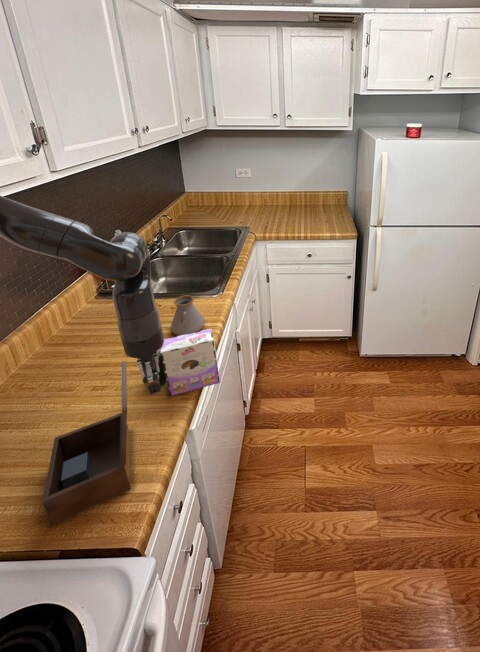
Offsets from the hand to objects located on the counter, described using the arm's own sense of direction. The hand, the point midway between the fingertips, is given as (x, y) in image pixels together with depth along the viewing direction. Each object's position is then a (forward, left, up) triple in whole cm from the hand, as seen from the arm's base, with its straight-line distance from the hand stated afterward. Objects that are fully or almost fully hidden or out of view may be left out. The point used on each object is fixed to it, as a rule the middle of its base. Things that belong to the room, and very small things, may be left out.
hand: (155, 391), depth 74 cm
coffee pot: (+11, +38, -18) cm, 43 cm away
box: (-15, 0, -18) cm, 23 cm away
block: (-18, 0, -17) cm, 24 cm away
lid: (-7, 0, -2) cm, 7 cm away
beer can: (0, +22, -18) cm, 28 cm away
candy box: (+9, +16, -18) cm, 26 cm away
